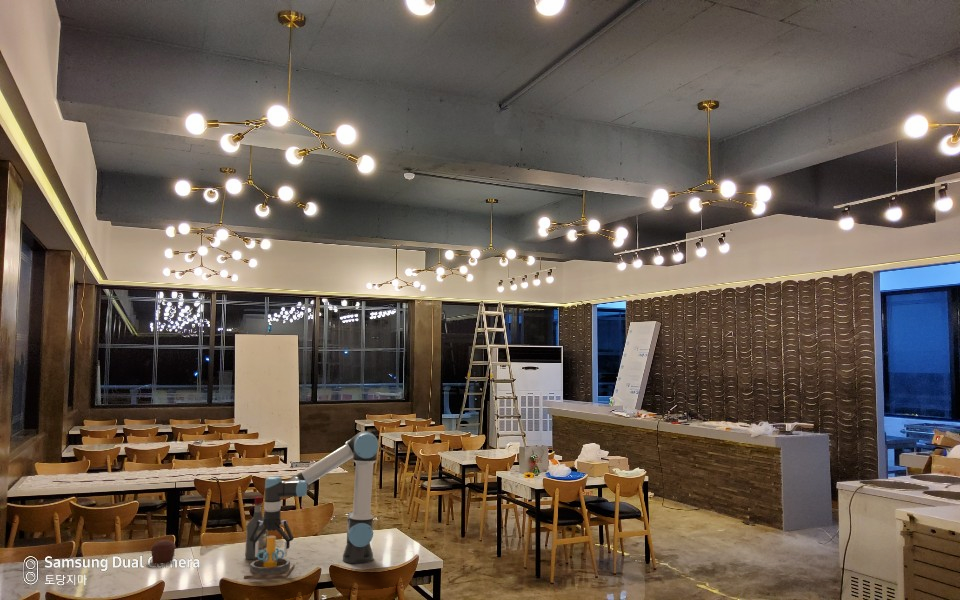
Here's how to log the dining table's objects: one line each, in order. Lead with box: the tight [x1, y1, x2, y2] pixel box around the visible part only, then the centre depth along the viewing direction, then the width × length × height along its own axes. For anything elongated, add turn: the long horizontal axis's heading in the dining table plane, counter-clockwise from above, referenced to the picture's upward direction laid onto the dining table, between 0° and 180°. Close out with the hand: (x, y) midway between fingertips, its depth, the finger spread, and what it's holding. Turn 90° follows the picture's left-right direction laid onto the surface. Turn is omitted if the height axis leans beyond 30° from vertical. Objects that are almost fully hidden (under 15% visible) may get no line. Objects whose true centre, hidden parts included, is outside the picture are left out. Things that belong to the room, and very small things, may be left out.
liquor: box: [244, 495, 269, 561], centre depth 346 cm, size 9×9×30 cm
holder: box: [243, 557, 296, 579], centre depth 320 cm, size 19×19×4 cm
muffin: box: [150, 539, 177, 565], centre depth 336 cm, size 12×11×10 cm
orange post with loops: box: [257, 535, 284, 567], centre depth 321 cm, size 12×10×15 cm
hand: (271, 556), depth 321 cm, fingers open, 13 cm apart
